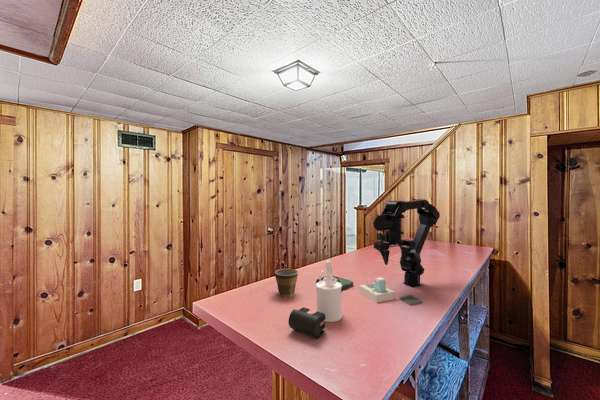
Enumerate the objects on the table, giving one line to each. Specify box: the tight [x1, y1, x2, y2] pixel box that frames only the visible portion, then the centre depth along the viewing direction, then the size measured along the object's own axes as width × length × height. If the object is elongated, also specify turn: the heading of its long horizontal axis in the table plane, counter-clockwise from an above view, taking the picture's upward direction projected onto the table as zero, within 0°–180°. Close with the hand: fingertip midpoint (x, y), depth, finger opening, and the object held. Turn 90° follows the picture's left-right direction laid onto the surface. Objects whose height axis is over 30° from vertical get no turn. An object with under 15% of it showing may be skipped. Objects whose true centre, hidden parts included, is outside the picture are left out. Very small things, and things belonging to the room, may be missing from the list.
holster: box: [398, 294, 423, 306], centre depth 109 cm, size 6×6×2 cm
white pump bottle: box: [315, 260, 343, 323], centre depth 98 cm, size 10×9×20 cm
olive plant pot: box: [273, 268, 299, 298], centre depth 119 cm, size 13×10×10 cm
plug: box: [374, 276, 387, 293], centre depth 112 cm, size 3×3×8 cm
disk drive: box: [315, 275, 354, 292], centre depth 130 cm, size 10×3×15 cm
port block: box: [358, 282, 396, 304], centre depth 115 cm, size 9×12×4 cm
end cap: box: [288, 306, 327, 339], centre depth 86 cm, size 10×7×7 cm
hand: (394, 263), depth 121 cm, fingers open, 9 cm apart
